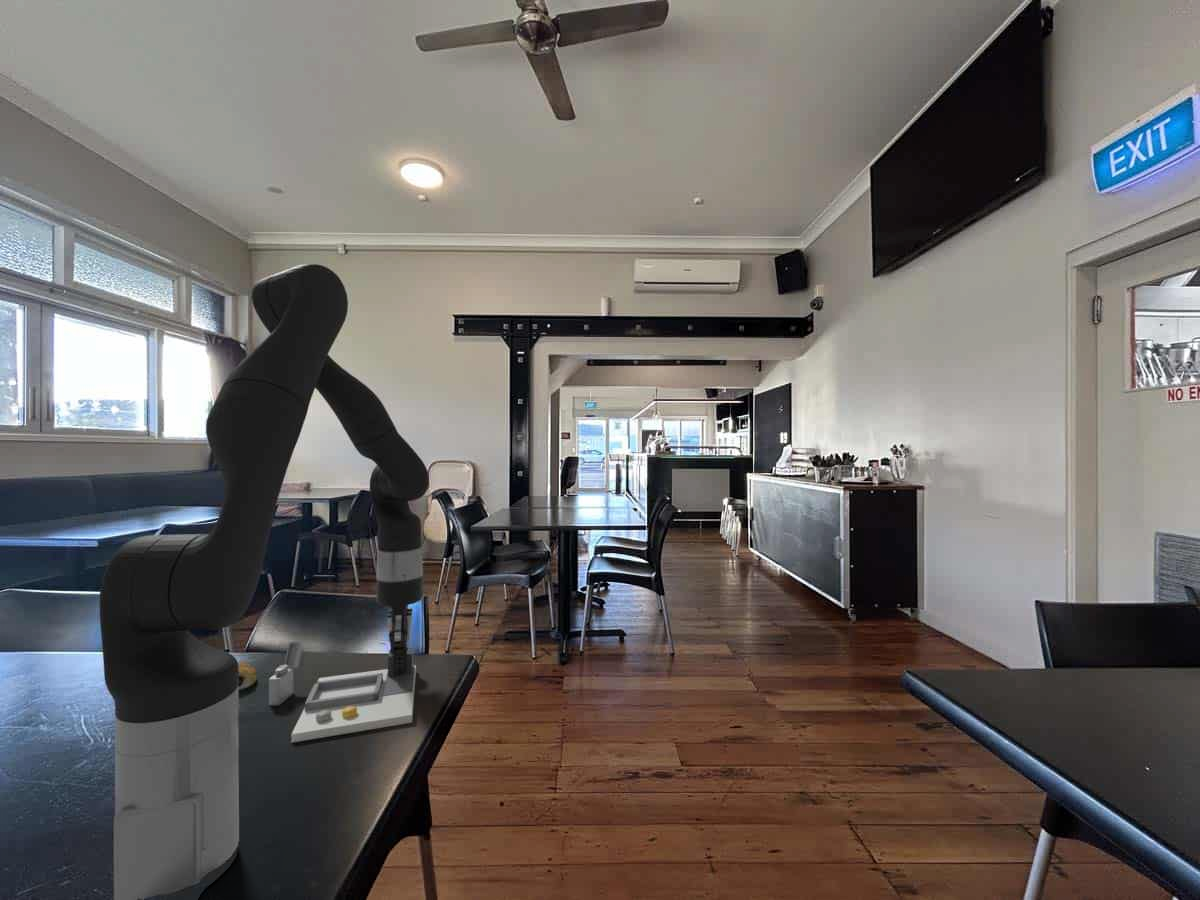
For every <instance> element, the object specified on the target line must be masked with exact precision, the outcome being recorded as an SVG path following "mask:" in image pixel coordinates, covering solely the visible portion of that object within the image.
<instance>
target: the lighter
mask: <svg viewBox="0 0 1200 900" xmlns="http://www.w3.org/2000/svg"><path fill="white" fill-rule="evenodd" d="M303 646H304V643H303V642H301V641H290V642H289V643H288V646H287V651H286V655H285V660H284V663H283V664H282V665H280V666H278V667H277V668H276V669H275V670H274V672H275V673H274V675H272V676H271V677H269V679H268V705H269V706H281V704H283V702H285V701H286V700H287V699H288V698H290V697H291V696H292V695H293V694H294V669H298V667H299V662H300V659H301V655H302V650H303Z"/></svg>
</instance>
